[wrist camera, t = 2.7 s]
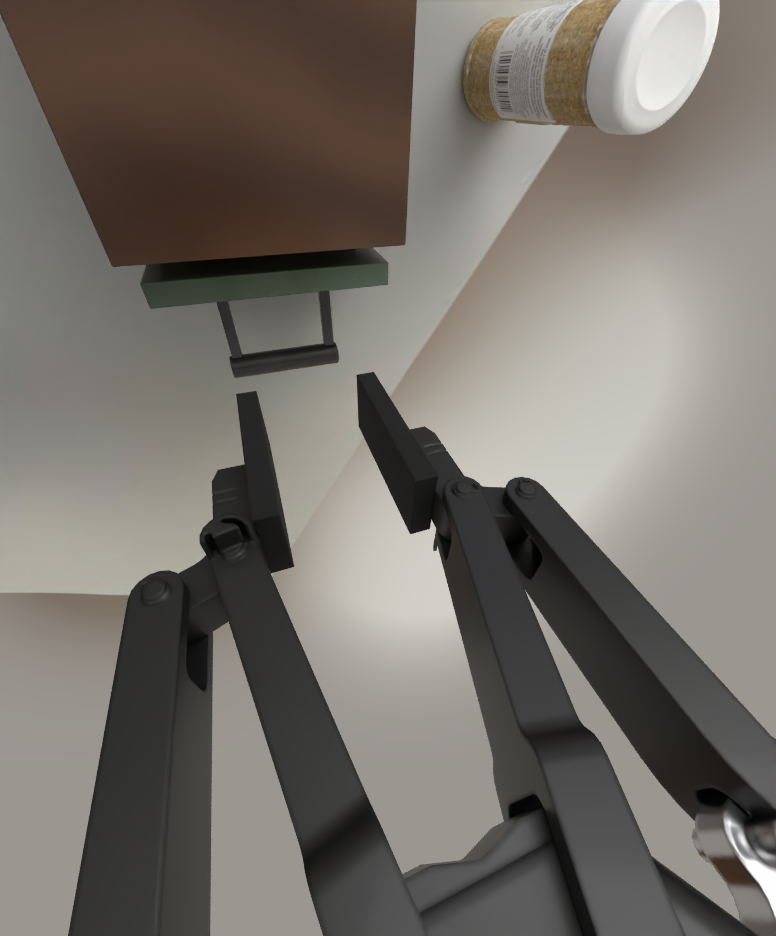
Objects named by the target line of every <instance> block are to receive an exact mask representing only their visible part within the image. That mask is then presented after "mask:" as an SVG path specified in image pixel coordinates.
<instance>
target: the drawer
mask: <svg viewBox="0 0 776 936" xmlns="http://www.w3.org/2000/svg"><path fill="white" fill-rule="evenodd" d="M140 284H141V287H142V289H143V292H144V294H145V297H146V299H147V302H148V304H149V307H150V308H151V309H153V308H163V307H173V306H182V305H192V304H202V303H212V302H217V305H218V309H219V312H220V316H221V319H222V323H223V326H224V330H225V333H226V337H227V340H228V344H229V347H230V351H231V354H232V356H230V363H231V368H232V371H233V375H234V377H235V378H239V377H245V376H252V375H259V374H265V373H272V372H279V371H285V370H292V369H299V368H305V367H312V366H318V365H325V364H332V363H338V361H339V355H338V349H337V346H336V343H335V342H333V331H332V319H331V307H330V295H329V291H330V290H340V289H350V288H360V287H370V286H379V285H388V262H387V261H386V260H385V259H384V258H383V257H382V256H381V255H380V254H378V253H377V252H376V251H375V250H374V249H373V248H359V249H346V250H332V251H319V252H306V253H292V254H279V255H265V256H252V257H239V258H225V259H212V260H199V261H185V262H172V263H159V264H146V267H145V270H144V274H143V277H142V280H141V283H140ZM310 292H318V293H319V303H320V313H321V323H322V333H323V342H324V343H323V344H316V345H308V346H301V347H294V348H286V349H279V350H272V351H264V352H257V353H250V354H242V352H241V349H240V345H239V341H238V337H237V333H236V330H235V326H234V322H233V318H232V315H231V311H230V307H229V303H228V301H232V300H241V299H251V298H261V297H271V296H281V295H291V294H301V293H310Z"/></svg>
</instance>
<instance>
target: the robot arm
mask: <svg viewBox="0 0 776 936" xmlns="http://www.w3.org/2000/svg"><path fill="white" fill-rule="evenodd" d="M357 394H358V419H359V428H360V430H361V432H362V434H363V436H364V438H365V440H366V442H367V444H368V446H369V449H370V451H371V453H372V455H373V457H374V459H375V461H376V463H377V465H378V467H379V470H380V472H381V474H382V476H383V478H384V480H385V482H386V484H387V486H388V488H389V491H390V493H391V495H392V497H393V499H394V501H395V503H396V505H397V507H398V509H399V511H400V514H401V516H402V518H403V520H404V522H405V524H406V526H407V528H408V530H409V533H410V534H413V533H416V532H420V531H423V530H427V529H430V523H431V519H432V521H433V523H434V525H435V527H436V534H435V539H434V545H433V548H434V551H436V550H437V545H438V549H439V553H440V557H441V560H442V564H443V568H444V571H445V576H446V579H447V583H448V587H449V591H450V594H451V598H452V602H453V606H454V610H455V614H456V617H457V621H458V625H459V629H460V633H461V636H462V640H463V644H464V648H465V651H466V655H467V659H468V663H469V667H470V671H471V675H472V678H473V682H474V686H475V690H476V694H477V697H478V701H479V704H480V709H481V712H482V716H483V720H484V724H485V728H486V732H487V735H488V739H489V743H490V747H491V751H492V756H493V774H494V782H495V786H496V791H497V795H498V799H499V803H500V807H501V811H502V815H503V819H504V822H503V823H501V824H499V825H497V826H495V827H493V828H492V829H490V830H489V832H488V833H487V834H486V835H485V836H484V837H483V838H482V839H481V840H480V841H479V842H478V843H477V845H476V846H475V847H474V848H473V849H472V850H471V851H470V852H469V853H468V854H467V855H466V857H464V858H463V859H462V860H459V861H451V862H442V863H433V864H425V865H419V866H418V867H416V868H414V869H412V870H410V871H408V872H406V873H404V874H402V873H401V871H400V868H399V866H398V864H397V862H396V859H395V857H394V855H393V852H392V850H391V848H390V845H389V843H388V841H387V839H386V836H385V834H384V832H383V829H382V827H381V825H380V823H379V821H378V819H377V816H376V814H375V812H374V810H373V808H372V806H371V804H370V802H369V799H368V797H367V795H366V793H365V791H364V788H363V786H362V783H361V782H360V779H359V777H358V774H357V772H356V770H355V767H354V765H353V763H352V760H351V758H350V756H349V754H348V751H347V749H346V747H345V744H344V742H343V740H342V737H341V735H340V733H339V731H338V728H337V726H336V724H335V721H334V719H333V717H332V715H331V712H330V710H329V707H328V705H327V703H326V701H325V698H324V696H323V694H322V692H321V689H320V687H319V685H318V682H317V680H316V678H315V675H314V673H313V670H312V668H311V666H310V664H309V661H308V659H307V657H306V654H305V652H304V650H303V647H302V645H301V643H300V641H299V638H298V636H297V634H296V631H295V629H294V627H293V624H292V622H291V620H290V618H289V615H288V613H287V611H286V609H285V606H284V604H283V601H282V599H281V597H280V595H279V592H278V590H277V587H276V585H275V583H274V581H273V578H272V576H271V574H270V573H274V572H277V571H281V570H284V569H288V568H291V567H294V564H293V559H292V553H291V548H290V543H289V538H288V533H287V528H286V523H285V518H284V513H283V508H282V503H281V498H280V493H279V488H278V483H277V478H276V473H275V468H274V463H273V458H272V453H271V448H270V443H269V439H268V435H267V431H266V427H265V423H264V419H263V415H262V412H261V408H260V404H259V400H258V396H257V392H256V391H253V392H247V393H241V394H236V396H237V404H238V413H239V421H240V429H241V437H242V446H243V454H244V462H245V465H240V466H235V467H230V468H225V469H221V470H218V471H217V473H216V475H215V477H214V479H213V481H212V494H213V496H212V499H213V520H211V521H210V522H209V523H208V524H207V525H206V526H204V527H203V529H202V531H201V534H200V544H201V546H202V548H203V550H204V551H205V553H206V556H205V557H204V558H203V559H202V560H201V561H199V562H198V563H196V564H195V565H193V566H191V567H190V568H188V569H186V570H184V571H182V572H180V573H179V574H177V573H175V572H172V571H169V570H168V571H158V572H155V573H153V574H150V575H148V576H146V577H145V578H144V579H142V580H141V581H139V582H138V583H137V585H136V586H135V587H134V588H133V589H132V591H131V593H130V596H129V598H128V602H127V607H126V613H125V619H124V624H123V630H122V636H121V642H120V647H119V652H118V658H117V664H116V669H115V675H114V681H113V686H112V692H111V698H110V704H109V709H108V715H107V720H106V726H105V731H104V737H103V743H102V748H101V754H100V759H99V765H98V771H97V776H96V782H95V788H94V794H93V799H92V804H91V811H90V816H89V822H88V827H87V832H86V838H85V844H84V849H83V855H82V861H81V867H80V873H79V877H78V883H77V889H76V894H75V900H74V905H73V911H72V917H71V922H70V928H69V934H68V936H210V885H211V881H210V880H211V782H212V780H211V778H212V773H211V772H212V675H213V674H212V673H213V669H212V668H213V631H214V630H216V629H218V628H219V627H221V626H222V625H224V624H225V623H227V622H228V621H229V624H230V627H231V630H232V633H233V637H234V639H235V643H236V646H237V649H238V652H239V655H240V658H241V662H242V665H243V668H244V671H245V674H246V677H247V681H248V683H249V687H250V690H251V693H252V697H253V700H254V703H255V706H256V709H257V712H258V716H259V719H260V722H261V725H262V728H263V731H264V734H265V737H266V741H267V744H268V747H269V750H270V753H271V756H272V760H273V762H274V766H275V769H276V772H277V775H278V779H279V782H280V785H281V788H282V791H283V795H284V798H285V801H286V804H287V807H288V810H289V813H290V817H291V820H292V823H293V826H294V829H295V832H296V836H297V839H298V842H299V845H300V849H301V852H302V856H303V862H304V868H305V874H306V878H307V883H308V887H309V890H310V894H311V897H312V901H313V904H314V907H315V910H316V914H317V917H318V920H319V923H320V927H321V929H322V933H323V936H776V739H775V738H773V737H772V736H771V735H770V734H769V733H768V732H767V731H766V730H765V729H764V728H763V727H762V725H761V724H760V723H759V722H758V721H757V720H756V719H755V718H754V717H753V716H752V715H751V714H750V712H749V711H748V710H747V709H746V708H745V707H744V706H743V705H742V704H741V703H740V701H738V699H737V698H736V697H735V696H734V695H733V694H732V693H731V692H730V691H729V689H728V688H727V687H726V686H725V685H724V684H723V683H722V682H721V681H720V680H719V679H718V677H717V676H716V675H715V674H714V673H713V672H712V671H711V670H710V669H709V668H708V666H707V665H706V664H705V663H704V662H703V661H702V660H701V659H700V658H699V657H698V656H697V654H696V653H695V652H694V651H693V650H692V649H691V648H690V647H689V646H688V645H687V644H686V643H685V641H684V640H683V639H682V638H681V637H680V636H679V635H678V634H677V633H676V632H675V630H674V629H673V628H672V627H671V626H670V625H669V624H668V623H667V622H666V621H665V620H664V618H663V617H662V616H661V615H660V614H659V613H658V612H657V611H656V610H655V609H654V608H653V606H652V605H651V604H650V603H649V602H648V601H647V600H646V599H645V598H644V597H643V595H642V594H641V593H640V592H639V591H638V590H637V589H636V588H635V587H634V586H633V585H632V584H631V582H630V581H629V580H628V579H627V578H626V577H625V576H624V575H623V574H622V573H621V571H620V570H619V569H618V568H617V567H616V566H615V565H614V564H613V563H612V562H611V561H610V559H609V558H608V557H607V556H606V555H605V554H604V553H603V552H602V551H601V550H600V549H599V547H597V545H596V544H595V543H594V542H593V541H592V540H591V539H590V538H589V536H588V535H587V534H586V533H585V532H584V531H583V530H582V529H581V528H580V527H579V526H578V524H577V523H576V522H575V521H574V520H573V519H572V518H571V517H570V516H569V515H568V513H567V512H566V511H565V510H564V509H563V508H562V507H561V506H560V505H559V504H558V503H557V501H556V500H555V499H554V498H553V497H552V496H551V495H550V494H549V493H548V492H547V491H546V489H545V488H544V487H543V486H541V485H540V484H539V483H538V482H536V481H534V480H532V479H530V478H524V477H519V478H514V479H512V480H510V481H509V482H508V484H507V485H506V488H501V487H483V486H481V485H480V484H479V483H478V482H476V481H475V480H474V479H471V478H469V477H465V476H464V475H463V473H462V472H461V471H460V469H459V468H458V466H457V465H456V463H455V462H454V461H453V459H452V458H451V456H450V455H449V453H448V452H447V451H446V449H445V447H444V446H443V444H441V442H440V440H439V439H438V437H437V436H436V434H435V433H434V432H432V431H431V430H429V429H427V428H426V427H420V428H415V429H411V430H409V428H408V426H407V425H406V423H405V422H404V420H403V418H402V417H401V415H400V414H399V412H398V410H397V409H396V407H395V406H394V404H393V402H392V401H391V399H390V397H389V396H388V394H387V393H386V391H385V389H384V388H383V386H382V385H381V383H380V381H379V380H378V378H377V376H376V375H375V373H374V372H371V373H365V374H359V375H357ZM269 570H270V571H269ZM525 590H526V592H527V593H528V595H529V596H530V598H531V599H532V600H533V602H534V603H535V605H536V606H537V608H538V609H539V611H540V612H541V614H542V615H543V617H544V618H545V619H546V621H547V622H548V624H549V625H550V627H551V628H552V630H553V631H554V632H555V634H556V635H557V637H558V638H559V640H560V641H561V643H562V644H563V646H564V647H565V648H566V650H567V651H568V653H569V654H570V656H571V657H572V658H573V660H574V661H575V663H576V664H577V666H578V667H579V669H580V670H581V672H582V673H583V675H584V676H585V677H586V679H587V680H588V681H589V683H590V685H591V686H592V688H593V689H594V690H595V692H596V693H597V695H598V696H599V698H600V699H601V701H602V702H603V704H604V705H605V706H606V708H607V709H608V710H609V712H610V713H611V715H612V716H613V718H614V719H615V721H616V722H617V724H618V725H619V726H620V728H621V729H622V731H623V732H624V734H625V735H626V737H627V738H628V740H629V741H630V743H631V744H632V746H633V747H634V748H635V750H636V751H637V753H638V754H639V756H640V757H641V759H642V760H643V761H644V763H645V764H646V765H647V767H648V768H649V769H650V770H651V772H652V773H653V775H654V776H655V777H656V779H657V780H658V781H659V782H660V784H661V785H662V786H663V787H664V788H665V789H666V791H667V792H668V793H669V794H670V795H671V796H672V797H673V799H674V800H675V801H676V802H677V803H678V804H679V806H680V807H681V808H682V809H683V810H684V811H685V812H686V813H687V814H688V815H689V816H690V817H691V818H692V819H693V820H694V821H695V826H696V827H695V828H694V829H693V833H692V838H693V843H694V846H695V848H696V849H697V851H698V853H699V854H700V856H701V857H702V858H703V859H705V860H706V862H708V863H710V864H712V865H713V866H714V867H715V869H716V870H717V872H718V873H719V874H720V876H721V877H722V878H723V880H724V881H725V882H726V884H727V886H728V888H729V890H730V892H731V894H732V896H733V897H734V901H735V903H736V906H737V909H738V912H739V918H740V921H738V920H737V919H736V918H734V917H733V916H731V915H730V914H729V913H727V912H726V911H725V910H723V909H722V908H721V907H719V906H718V905H717V904H715V903H714V902H713V901H711V900H710V899H709V898H707V897H706V896H705V895H703V894H702V893H700V892H699V891H698V890H696V889H695V888H693V887H692V886H691V885H690V884H688V883H687V882H686V881H684V880H683V879H682V878H680V877H679V876H677V875H676V874H675V873H674V872H672V871H671V870H670V869H668V868H667V867H665V866H664V865H663V864H661V863H660V862H659V861H657V860H656V859H655V858H653V857H652V856H651V854H650V852H649V849H648V847H647V845H646V843H645V840H644V838H643V836H642V833H641V831H640V829H639V827H638V824H637V822H636V820H635V818H634V815H633V813H632V810H631V808H630V806H629V804H628V801H627V799H626V797H625V795H624V792H623V790H622V788H621V785H620V783H619V781H618V778H617V776H616V774H615V772H614V769H613V767H612V765H611V762H610V760H609V758H608V756H607V754H606V752H605V750H604V748H603V746H602V744H601V742H600V741H599V740H598V739H597V737H596V736H595V734H594V733H592V732H591V731H590V730H588V729H587V728H586V727H584V726H583V724H582V723H581V722H580V720H579V718H578V716H577V714H576V712H575V710H574V707H573V705H572V702H571V700H570V697H569V695H568V693H567V690H566V688H565V686H564V683H563V681H562V678H561V676H560V673H559V671H558V669H557V666H556V664H555V661H554V659H553V657H552V654H551V652H550V649H549V647H548V645H547V642H546V640H545V638H544V635H543V632H542V630H541V628H540V625H539V623H538V620H537V618H536V616H535V613H534V611H533V609H532V606H531V604H530V601H529V599H528V597H527V594H526V592H525Z"/></svg>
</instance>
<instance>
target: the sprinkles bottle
mask: <svg viewBox="0 0 776 936" xmlns="http://www.w3.org/2000/svg"><path fill="white" fill-rule="evenodd" d="M719 11H720V9H719V0H574V1H570V2H566V3H562V4H557V5H553V6H549V7H545V8H541V9H537V10H533V11H529V12H526V13H524V14H521V15H519V16H516V17H511V18H501V17H500V18H496V19H493V20H491V21H490V22H488V23H487V24H486V25H484V26H483V27H482V28H481V29H480V31H479V32H478V33H477V35H476V36H475V38H474V40H473V42H472V44H471V46H470V48H469V51H468V54H467V57H466V60H465V64H464V73H463V81H464V85H463V87H464V93H465V98H466V101H467V104H468V106H469V108H470V109H471V111H472V112H473V114H474V115H475V116H477V117H478V118H479V119H481V120H483V121H497V120H507V121H515V122H516V123H524V124H536V125H549V124H553V125H573V126H592V127H597V128H598V129H600V130H602V131H604V132H607V133H611V134H623V135H639V134H645V133H648V132H650V131H652V130H654V129H656V128H658V127H660V126H661V125H663V124H664V123H665V122H666V121H667V120H668V119H670V118H671V117H672V116H673V115H674V114H675V113H676V112H677V111H678V110H679V108H680V107H681V106H682V105H683V103H684V102H685V101H686V99H687V98H688V97H689V95H690V94H691V92H692V91H693V89H694V87H695V86H696V84H697V82H698V81H699V79H700V77H701V75H702V73H703V70H704V68H705V66H706V64H707V62H708V59H709V57H710V54H711V51H712V48H713V44H714V41H715V37H716V33H717V28H718V22H719Z"/></svg>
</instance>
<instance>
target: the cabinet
mask: <svg viewBox="0 0 776 936" xmlns="http://www.w3.org/2000/svg"><path fill="white" fill-rule="evenodd" d="M416 2H417V0H0V15H1V17H2V19H3V21H4V24H5V26H6V28H7V30H8V33H9V35H10V37H11V39H12V42H13V44H14V46H15V48H16V51H17V53H18V55H19V57H20V60H21V62H22V64H23V66H24V69H25V71H26V73H27V75H28V78H29V80H30V82H31V84H32V87H33V89H34V91H35V93H36V96H37V98H38V100H39V102H40V105H41V107H42V109H43V112H44V114H45V116H46V118H47V121H48V123H49V125H50V127H51V130H52V132H53V134H54V136H55V139H56V141H57V143H58V145H59V148H60V150H61V152H62V154H63V157H64V159H65V161H66V163H67V166H68V168H69V170H70V172H71V175H72V177H73V179H74V181H75V184H76V186H77V188H78V190H79V193H80V195H81V197H82V199H83V202H84V204H85V206H86V208H87V211H88V213H89V215H90V217H91V220H92V222H93V224H94V226H95V229H96V231H97V233H98V235H99V238H100V240H101V242H102V244H103V247H104V249H105V251H106V254H107V256H108V258H109V260H110V263H111V265H112V266H113V267H118V266H132V265H145V264H159V263H172V262H185V261H199V260H212V259H225V258H239V257H252V256H265V255H279V254H292V253H306V252H319V251H332V250H346V249H359V248H372V247H386V246H399V245H405V239H406V217H407V196H408V174H409V153H410V131H411V110H412V88H413V67H414V45H415V24H416Z"/></svg>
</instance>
